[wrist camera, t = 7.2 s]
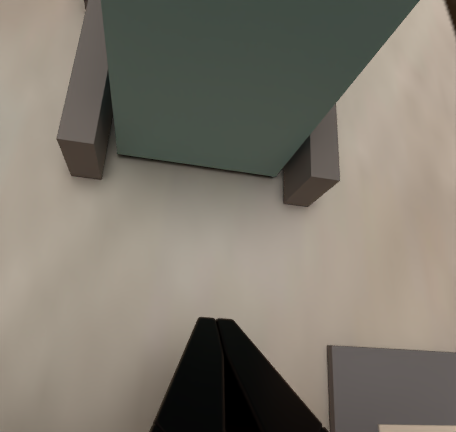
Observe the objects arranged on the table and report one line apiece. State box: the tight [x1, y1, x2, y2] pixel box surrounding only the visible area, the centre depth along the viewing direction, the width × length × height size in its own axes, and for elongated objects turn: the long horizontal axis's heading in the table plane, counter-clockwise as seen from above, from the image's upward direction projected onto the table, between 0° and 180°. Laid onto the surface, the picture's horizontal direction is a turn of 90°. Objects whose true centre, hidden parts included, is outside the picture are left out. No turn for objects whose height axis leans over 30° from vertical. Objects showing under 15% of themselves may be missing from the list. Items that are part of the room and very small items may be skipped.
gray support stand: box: [57, 0, 340, 207], centre depth 16 cm, size 11×12×5 cm
